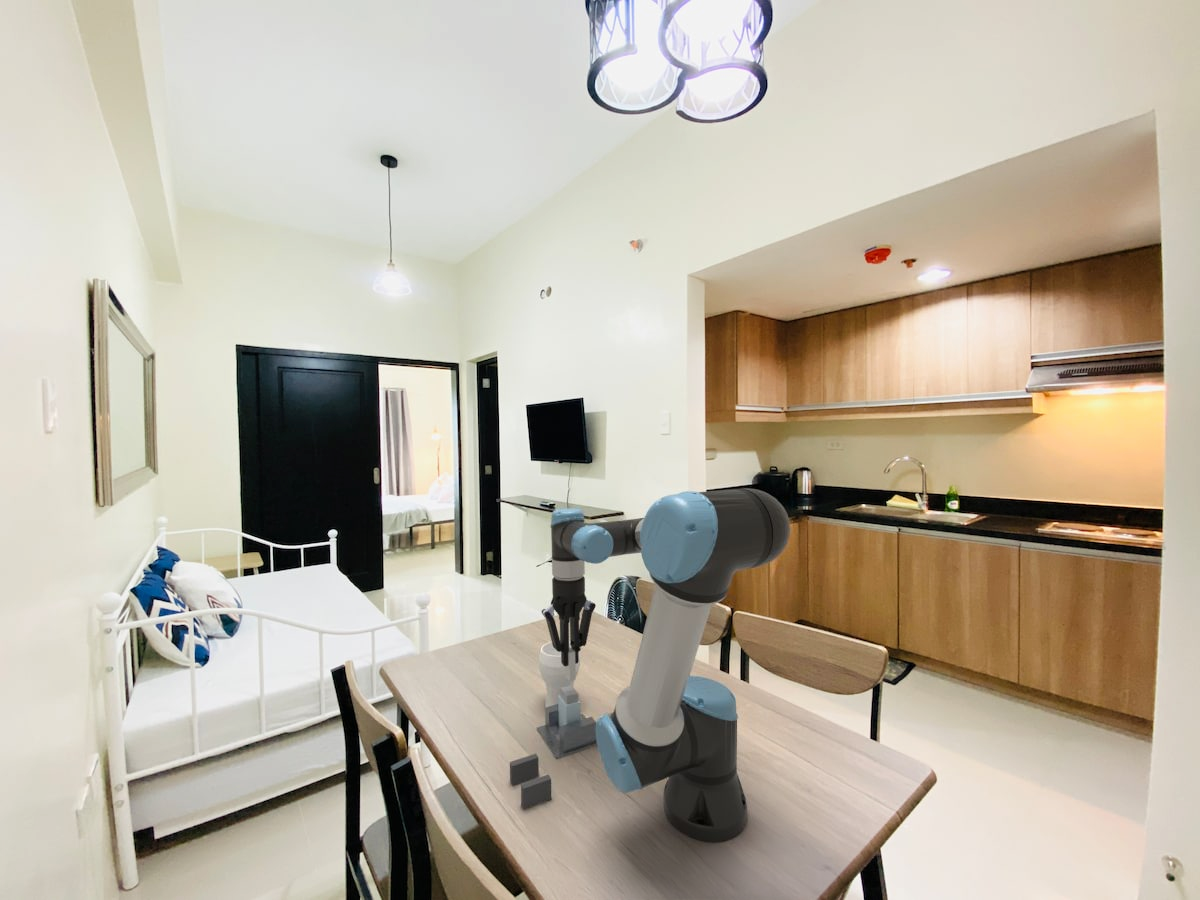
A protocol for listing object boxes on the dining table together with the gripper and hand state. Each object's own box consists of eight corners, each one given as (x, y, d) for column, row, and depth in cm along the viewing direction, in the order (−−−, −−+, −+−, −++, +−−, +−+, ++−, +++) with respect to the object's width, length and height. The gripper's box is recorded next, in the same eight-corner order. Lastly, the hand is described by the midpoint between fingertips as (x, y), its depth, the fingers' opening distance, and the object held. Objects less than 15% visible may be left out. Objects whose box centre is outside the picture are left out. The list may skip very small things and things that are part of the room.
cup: (574, 719, 118) (574, 658, 118) (533, 714, 120) (533, 655, 120) (584, 696, 129) (584, 640, 128) (546, 692, 131) (546, 638, 130)
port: (605, 742, 109) (604, 720, 109) (556, 759, 103) (555, 736, 103) (582, 715, 120) (582, 695, 119) (536, 729, 114) (536, 708, 114)
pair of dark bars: (551, 799, 92) (551, 778, 92) (523, 809, 89) (523, 788, 89) (536, 772, 99) (536, 753, 99) (510, 781, 97) (509, 762, 97)
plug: (580, 736, 110) (580, 693, 110) (566, 741, 109) (566, 697, 109) (572, 725, 115) (571, 683, 115) (558, 729, 113) (558, 687, 113)
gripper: (586, 568, 117) (588, 665, 117) (536, 576, 111) (538, 678, 111) (601, 576, 110) (602, 678, 110) (548, 584, 104) (550, 692, 104)
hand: (570, 677), depth 111 cm, fingers closed
